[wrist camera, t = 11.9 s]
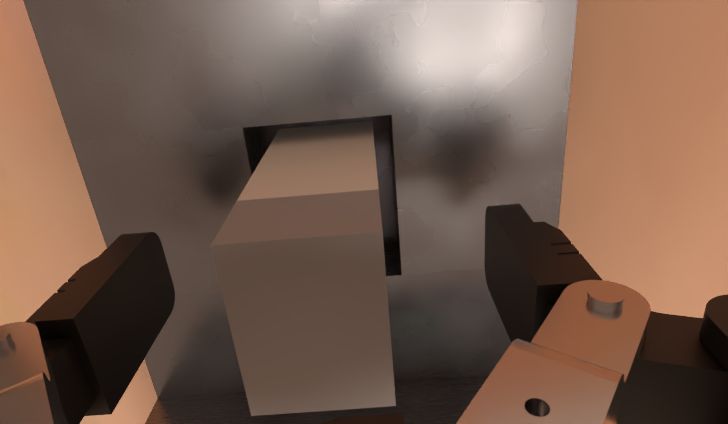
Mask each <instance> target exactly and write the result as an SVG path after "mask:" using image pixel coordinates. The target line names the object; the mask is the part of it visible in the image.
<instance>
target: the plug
mask: <svg viewBox="0 0 728 424" xmlns="http://www.w3.org/2000/svg"><path fill="white" fill-rule="evenodd" d="M210 246H211V250H212V254H213V259H214V263H215V267H216V271H217V275H218V279H219V284H220V288H221V292H222V296H223V300H224V305H225V309H226V313H227V317H228V321H229V325H230V330H231V334H232V338H233V342H234V346H235V350H236V355H237V359H238V363H239V367H240V371H241V375H242V380H243V384H244V388H245V392H246V396H247V400H248V405H249V409H250V413H251V416H258V415H273V414H287V413H302V412H316V411H331V410H345V409H360V408H374V407H389V406H396V399H395V386H394V373H393V360H392V347H391V334H390V321H389V308H388V295H387V282H386V269H385V256H384V243H383V230H382V219H381V209H380V198H379V188H378V177H377V167H376V156H375V146H374V135H373V124H372V121H367V122H355V123H343V124H331V125H320V126H308V127H296V128H284V129H279V131H278V132H277V134H276V136H275V137H274V139H273V141H272V142H271V144H270V146H269V147H268V149H267V151H266V152H265V154H264V156H263V158H262V159H261V161H260V163H259V164H258V166H257V168H256V169H255V171H254V173H253V174H252V176H251V178H250V179H249V181H248V183H247V184H246V186H245V188H244V190H243V191H242V193H241V195H240V196H239V198H238V200H237V201H236V203H235V205H234V206H233V208H232V210H231V211H230V213H229V215H228V216H227V218H226V220H225V222H224V223H223V225H222V227H221V228H220V230H219V232H218V233H217V235H216V237H215V238H214V240H213V242H212V243H211V245H210Z"/></svg>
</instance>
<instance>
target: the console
mask: <svg viewBox="0 0 728 424" xmlns="http://www.w3.org/2000/svg"><path fill="white" fill-rule="evenodd" d="M23 1H24V4H25V7H26V10H27V12H28V15H29V18H30V21H31V24H32V27H33V30H34V33H35V36H36V39H37V42H38V45H39V48H40V51H41V54H42V57H43V60H44V63H45V66H46V69H47V72H48V75H49V78H50V80H51V83H52V86H53V89H54V92H55V95H56V98H57V101H58V104H59V107H60V110H61V113H62V116H63V119H64V122H65V125H66V128H67V131H68V134H69V137H70V140H71V143H72V145H73V148H74V151H75V154H76V157H77V160H78V163H79V166H80V169H81V172H82V175H83V178H84V181H85V184H86V187H87V190H88V193H89V196H90V199H91V202H92V205H93V208H94V211H95V213H96V216H97V219H98V222H99V225H100V228H101V231H102V234H103V237H104V240H105V243H106V246H107V248H108V247H109V246H110V245H111V244H112V243H113V242H114V241H115V240H116V239H117V238H118V237H119V236H120V235H122V234H132V233H145V232H155V233H156V234H157V235H158V236H159V238H160V240H161V243H162V247H163V250H164V254H165V257H166V260H167V264H168V267H169V271H170V274H171V278H172V281H173V285H174V290H175V303H174V308H173V311H172V313H171V314H170V316H169V318H168V319H167V321H166V323H165V325H164V326H163V328H162V330H161V331H160V333H159V335H158V336H157V338H156V340H155V341H154V343H153V345H152V346H151V348H150V350H149V351H148V353H147V355H146V357H145V361H146V364H147V367H148V370H149V373H150V376H151V379H152V382H153V385H154V388H155V391H156V394H157V397H158V399H157V401H156V403H155V405H154V407H153V409H152V411H151V413H150V415H149V417H148V419H147V421H146V423H145V424H320V423H324V422H327V421H331V420H335V419H338V418H342V417H356V416H371V415H386V414H401V413H404V423H405V424H456V423H457V422H458V420H459V419H460V417H461V416H462V414H463V413H464V411H465V410H466V408H467V407H468V406H469V404H470V403H471V401H472V400H473V398H474V397H475V395H476V394H477V392H478V391H479V390H480V388H481V387H482V385H483V384H484V382H485V381H486V379H487V378H488V376H489V375H490V374H491V372H492V371H493V369H494V368H495V366H496V365H497V363H498V362H499V360H500V359H501V358H502V356H503V355H504V353H505V352H506V350H507V349H508V347H509V346H510V345H511V341H510V339H509V336H508V334H507V332H506V329H505V327H504V325H503V322H502V320H501V318H500V315H499V313H498V311H497V308H496V306H495V304H494V301H493V299H492V297H491V294H490V292H489V289H488V286H487V282H486V277H485V266H484V260H485V214H486V208H487V206H493V205H506V204H518V203H519V204H520V205H521V206H522V207H523V208H524V210H525V211H526V212H527V214H528V215H529V216H530V218H531V219H532V220H533V222H543V221H544V222H546V223H548V224H550V225H552V226H553V227H555V228H557V229H558V225H559V214H560V202H561V190H562V179H563V167H564V155H565V143H566V132H567V120H568V108H569V97H570V85H571V73H572V62H573V50H574V38H575V26H576V15H577V3H578V0H23ZM367 121H372V124H373V135H374V146H375V156H376V167H377V177H378V188H379V198H380V209H381V219H382V230H383V243H384V256H385V269H386V282H387V295H388V308H389V321H390V334H391V347H392V360H393V373H394V386H395V399H396V406H389V407H374V408H360V409H345V410H331V411H316V412H302V413H287V414H273V415H258V416H251V413H250V409H249V405H248V400H247V396H246V392H245V388H244V384H243V380H242V375H241V371H240V367H239V363H238V359H237V355H236V350H235V346H234V342H233V338H232V334H231V330H230V325H229V321H228V317H227V313H226V309H225V305H224V300H223V296H222V292H221V288H220V284H219V279H218V275H217V271H216V267H215V263H214V259H213V254H212V250H211V246H210V245H211V243H212V242H213V240H214V238H215V237H216V235H217V233H218V232H219V230H220V228H221V227H222V225H223V223H224V222H225V220H226V218H227V216H228V215H229V213H230V211H231V210H232V208H233V206H234V205H235V203H236V201H237V200H238V198H239V196H240V195H241V193H242V191H243V190H244V188H245V186H246V184H247V183H248V181H249V179H250V178H251V176H252V174H253V173H254V171H255V169H256V168H257V166H258V164H259V163H260V161H261V159H262V158H263V156H264V154H265V152H266V151H267V149H268V147H269V146H270V144H271V142H272V141H273V139H274V137H275V136H276V134H277V132H278V131H279V129H284V128H296V127H308V126H320V125H331V124H343V123H355V122H367Z"/></svg>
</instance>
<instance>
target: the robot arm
mask: <svg viewBox="0 0 728 424" xmlns="http://www.w3.org/2000/svg"><path fill="white" fill-rule="evenodd" d="M484 266H485V277H486V282H487V286H488V289H489V292H490V294H491V297H492V299H493V301H494V304H495V306H496V308H497V311H498V313H499V315H500V318H501V320H502V322H503V325H504V327H505V329H506V332H507V334H508V336H509V339H510V341H511V345H510V346H509V347H508V349H507V350H506V352H505V353H504V355H503V356H502V358H501V359H500V360H499V362H498V363H497V365H496V366H495V368H494V369H493V371H492V372H491V374H490V375H489V376H488V378H487V379H486V381H485V382H484V384H483V385H482V387H481V388H480V390H479V391H478V392H477V394H476V395H475V397H474V398H473V400H472V401H471V403H470V404H469V406H468V407H467V408H466V410H465V411H464V413H463V414H462V416H461V417H460V419H459V420H458V422H457V423H456V424H728V295H722V296H717V297H715V298H713V299H711V300H710V301H709V302H708V303H707V305H706V308H705V313H704V317H703V318H694V317H686V316H677V315H669V314H662V313H656V312H652V311H650V310H651V309H650V305H649V303H648V301H647V300H646V299H645V298H644V297H643V296H642V295H641V294H640V293H638V292H636V291H635V290H633V289H631V288H629V287H627V286H624V285H621V284H618V283H614V282H610V281H603V280H602V279H601V278H600V277H599V275H598V274H597V273H596V272H595V271H594V269H593V268H592V267H591V266H590V265H589V263H588V262H587V261H586V260H585V259H584V257H583V256H582V255H581V254H579V251H578V250H577V249H576V248H575V247H574V245H573V244H571V242H570V241H569V239H568V238H567V237H566V236H565V235H564V233H563V232H562V231H561V230H559V229H557V228H555V227H553V226H552V225H550V224H548V223H546V222H544V221H543V222H533V220H532V219H531V218H530V216H529V215H528V214H527V212H526V211H525V210H524V208H523V207H522V206H521V205H520V204H519V203H518V204H506V205H493V206H487V208H486V214H485V260H484ZM57 291H58V293H54V294H53V295H52V296H51V297H50V298H49V299H48V300H47V301H46V302H45V303H44V304H43V305H42V306H41V307H40V308H39V309H38V310H37V311H36V312H35V313H34V314H33V315H32V316H31V317H30V318H29V319H28V320H27V321H26V322H17V323H10V324H6V325H2V326H0V424H79V423H80V422H81V420H82V419H83V417H84V416H90V415H105V414H112V412H113V410H114V409H115V407H116V405H117V404H118V402H119V400H120V399H121V397H122V395H123V394H124V392H125V390H126V389H127V387H128V385H129V383H130V382H131V380H132V378H133V377H134V375H135V373H136V372H137V370H138V368H139V367H140V365H141V363H142V362H143V360H144V358H145V357H146V355H147V353H148V351H149V350H150V348H151V346H152V345H153V343H154V341H155V340H156V338H157V336H158V335H159V333H160V331H161V330H162V328H163V326H164V325H165V323H166V321H167V319H168V318H169V316H170V314H171V313H172V311H173V308H174V303H175V290H174V285H173V281H172V278H171V274H170V271H169V267H168V264H167V260H166V257H165V254H164V250H163V247H162V243H161V240H160V238H159V236H158V235H157V234H156V233H155V232H145V233H132V234H122V235H120V236H119V237H118V238H117V239H116V240H115V241H114V242H113V243H112V244H111V245H110V246H109V247H108V248H107V249H106V250H105V251H104V252H103V253H102V254H101V255H100V256H99V257H97V258H96V259H94V260H92V261H90V262H89V263H87V264H85V265H84V266H82V267H81V268H80V269H79V270H78V271H77V272H76V273H75V274H74V275H73V276H72V277H71V278H69V279H68V282H65V283H64V284H63V285H62V286H61V287H60V288H59V289H58V290H57ZM320 424H405V423H404V413H401V414H386V415H371V416H356V417H342V418H338V419H335V420H331V421H327V422H324V423H320Z"/></svg>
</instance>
